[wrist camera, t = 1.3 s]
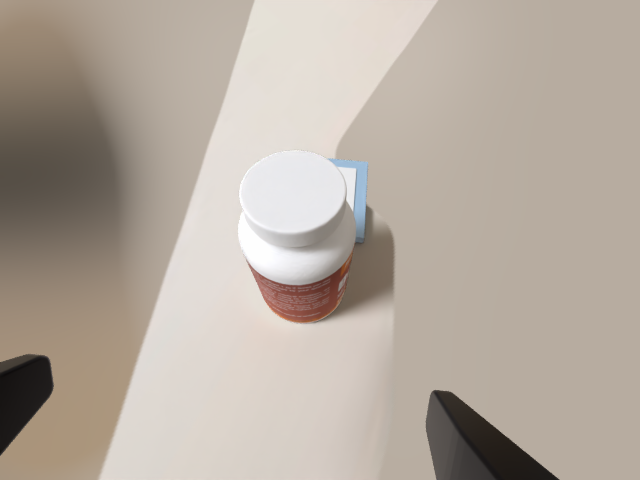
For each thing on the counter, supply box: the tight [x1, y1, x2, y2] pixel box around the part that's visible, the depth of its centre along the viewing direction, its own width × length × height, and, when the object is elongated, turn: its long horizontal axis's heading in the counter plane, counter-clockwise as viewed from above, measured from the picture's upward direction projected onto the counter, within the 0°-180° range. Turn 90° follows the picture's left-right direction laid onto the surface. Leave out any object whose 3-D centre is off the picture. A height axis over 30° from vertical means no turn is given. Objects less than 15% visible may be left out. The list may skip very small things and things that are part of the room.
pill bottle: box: [238, 150, 356, 324], centre depth 18 cm, size 6×6×11 cm
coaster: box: [328, 159, 368, 243], centre depth 26 cm, size 8×8×1 cm
